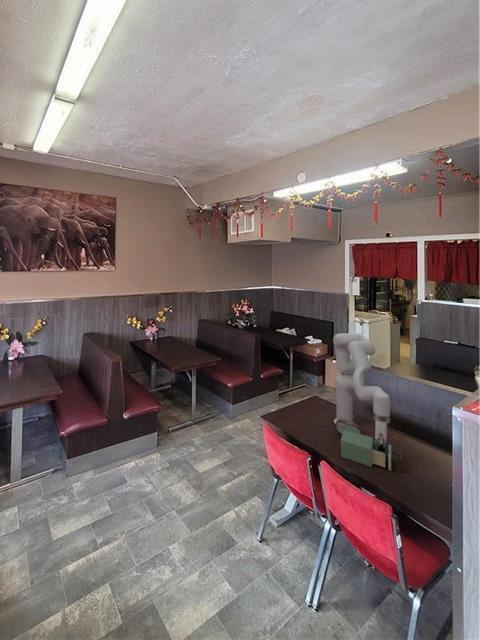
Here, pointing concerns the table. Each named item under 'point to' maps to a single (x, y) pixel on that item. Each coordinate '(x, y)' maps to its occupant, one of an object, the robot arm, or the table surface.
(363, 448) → the cabinet
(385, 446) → the cube
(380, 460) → the drawer
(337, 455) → the table surface
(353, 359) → the robot arm
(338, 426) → the tin
